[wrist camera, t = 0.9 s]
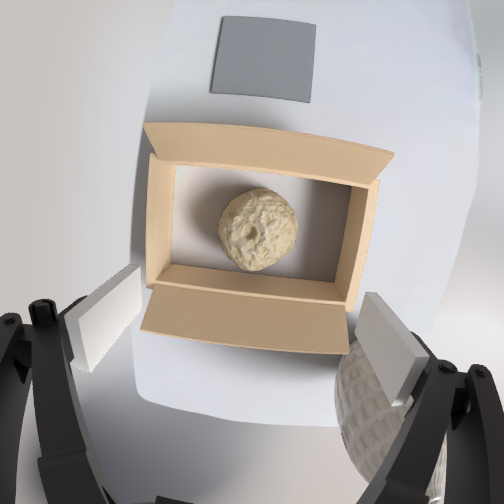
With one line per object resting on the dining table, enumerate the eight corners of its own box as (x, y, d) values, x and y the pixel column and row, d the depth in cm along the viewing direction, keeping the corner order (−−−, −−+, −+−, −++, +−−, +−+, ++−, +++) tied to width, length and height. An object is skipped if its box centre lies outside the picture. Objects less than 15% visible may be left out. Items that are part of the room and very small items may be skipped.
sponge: (224, 216, 39) (198, 273, 33) (240, 162, 32) (210, 218, 25) (286, 240, 40) (272, 301, 33) (314, 191, 32) (305, 255, 26)
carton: (170, 135, 32) (131, 122, 21) (364, 158, 32) (406, 155, 21) (162, 287, 38) (130, 329, 27) (336, 307, 38) (359, 355, 27)
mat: (224, 17, 27) (224, 15, 27) (315, 26, 27) (316, 24, 27) (212, 93, 30) (211, 92, 30) (309, 103, 30) (310, 102, 30)
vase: (312, 380, 42) (340, 540, 15) (337, 314, 38) (410, 493, 11) (379, 382, 42) (433, 515, 15) (408, 322, 38) (504, 456, 11)
